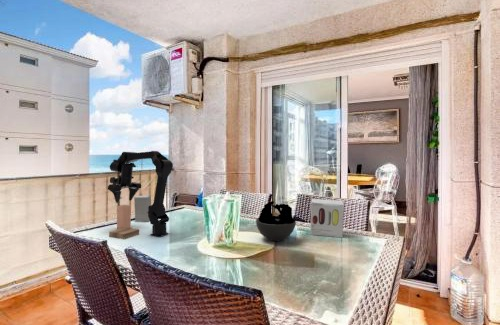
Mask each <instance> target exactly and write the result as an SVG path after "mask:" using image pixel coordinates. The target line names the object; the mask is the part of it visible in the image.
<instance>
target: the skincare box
mask: <svg viewBox="0 0 500 325" xmlns="http://www.w3.org/2000/svg"><path fill="white" fill-rule="evenodd" d="M151 197H152V195H138V196H135V197H133V200H134V201H133V202H134V221H135V223H136V222H138V223H139V222H142V223H143V222H147V223H148V222H150V220H149V217H148V213H147V212H148V207H149V206H150V205H152V198H151Z"/></svg>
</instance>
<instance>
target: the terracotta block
mask: <svg viewBox="0 0 500 325" xmlns="http://www.w3.org/2000/svg"><path fill="white" fill-rule="evenodd" d="M131 206H132V205H131V204H130V205H129V204H120V205H117V206H116V230H117V229H121V228H124V227H126V228H132V226H131V223H132V221H131V220H132V218H131V216H132V213H131V212H132V207H131Z"/></svg>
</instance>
